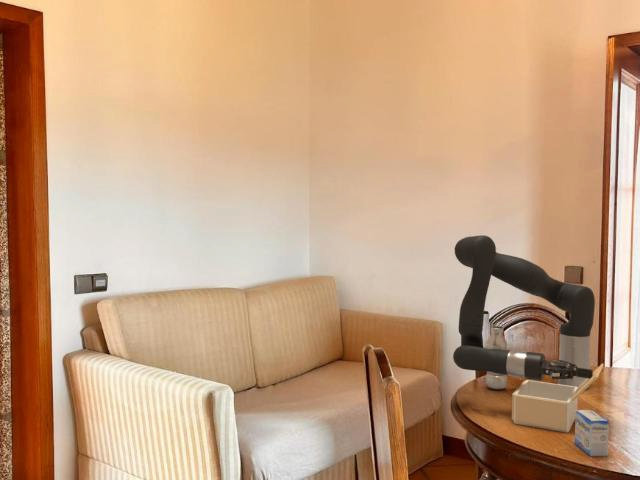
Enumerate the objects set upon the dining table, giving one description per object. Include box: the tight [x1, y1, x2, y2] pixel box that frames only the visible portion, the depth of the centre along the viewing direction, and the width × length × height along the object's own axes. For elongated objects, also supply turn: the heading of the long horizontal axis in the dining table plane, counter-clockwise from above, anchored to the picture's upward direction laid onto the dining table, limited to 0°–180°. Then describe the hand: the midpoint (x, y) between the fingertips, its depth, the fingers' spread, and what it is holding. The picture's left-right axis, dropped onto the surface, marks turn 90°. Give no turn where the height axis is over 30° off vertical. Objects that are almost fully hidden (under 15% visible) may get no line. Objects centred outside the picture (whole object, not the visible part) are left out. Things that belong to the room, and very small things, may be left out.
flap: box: [572, 362, 604, 401], centre depth 169 cm, size 15×9×1 cm
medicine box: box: [574, 409, 610, 457], centre depth 153 cm, size 8×4×9 cm, turn 5°
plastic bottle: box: [485, 325, 508, 390], centre depth 203 cm, size 6×7×20 cm
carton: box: [511, 379, 579, 433], centre depth 175 cm, size 17×15×8 cm
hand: (592, 374), depth 168 cm, fingers closed
